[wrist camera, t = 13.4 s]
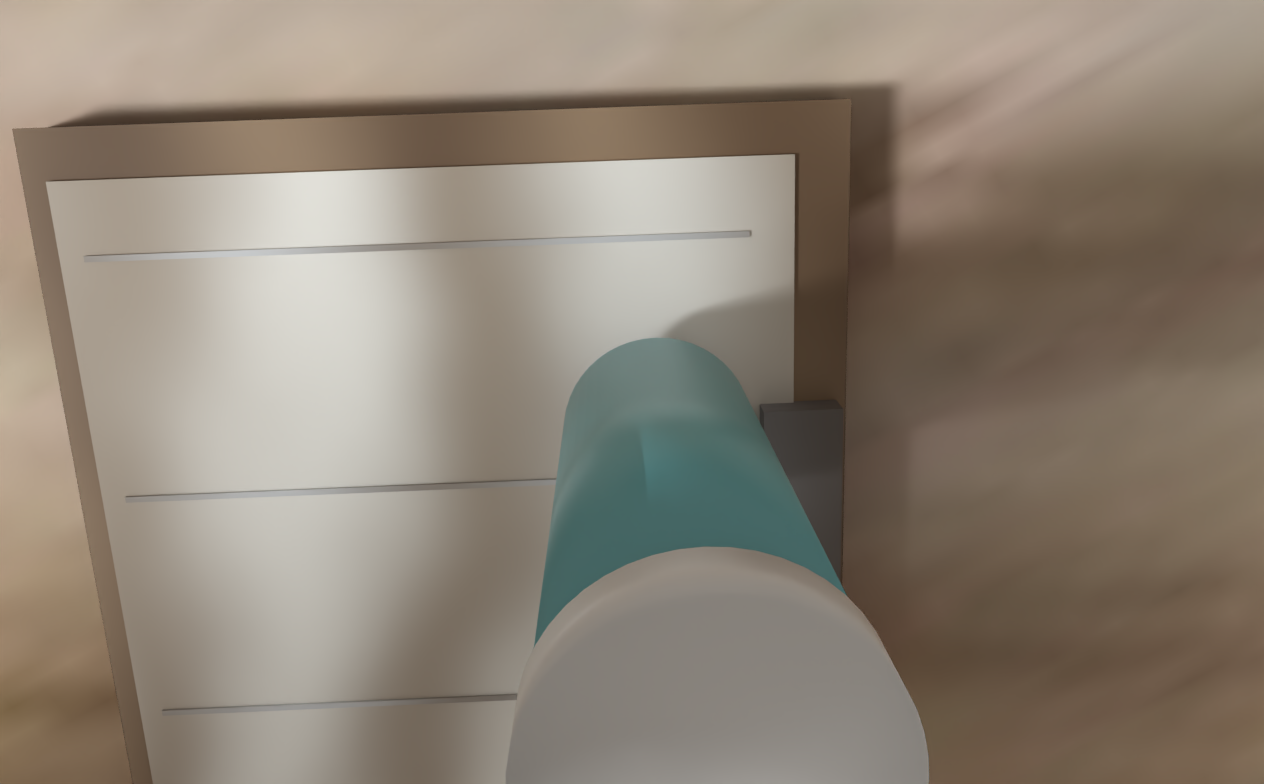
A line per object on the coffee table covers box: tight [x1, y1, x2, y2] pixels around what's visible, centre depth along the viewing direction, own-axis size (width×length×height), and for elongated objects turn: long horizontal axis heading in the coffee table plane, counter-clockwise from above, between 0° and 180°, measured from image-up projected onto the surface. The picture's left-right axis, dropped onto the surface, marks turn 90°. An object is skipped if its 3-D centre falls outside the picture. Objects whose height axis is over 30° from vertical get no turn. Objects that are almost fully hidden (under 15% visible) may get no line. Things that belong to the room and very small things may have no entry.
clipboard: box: [12, 99, 851, 784], centre depth 23 cm, size 16×20×2 cm
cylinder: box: [506, 338, 929, 784], centre depth 15 cm, size 4×4×12 cm
